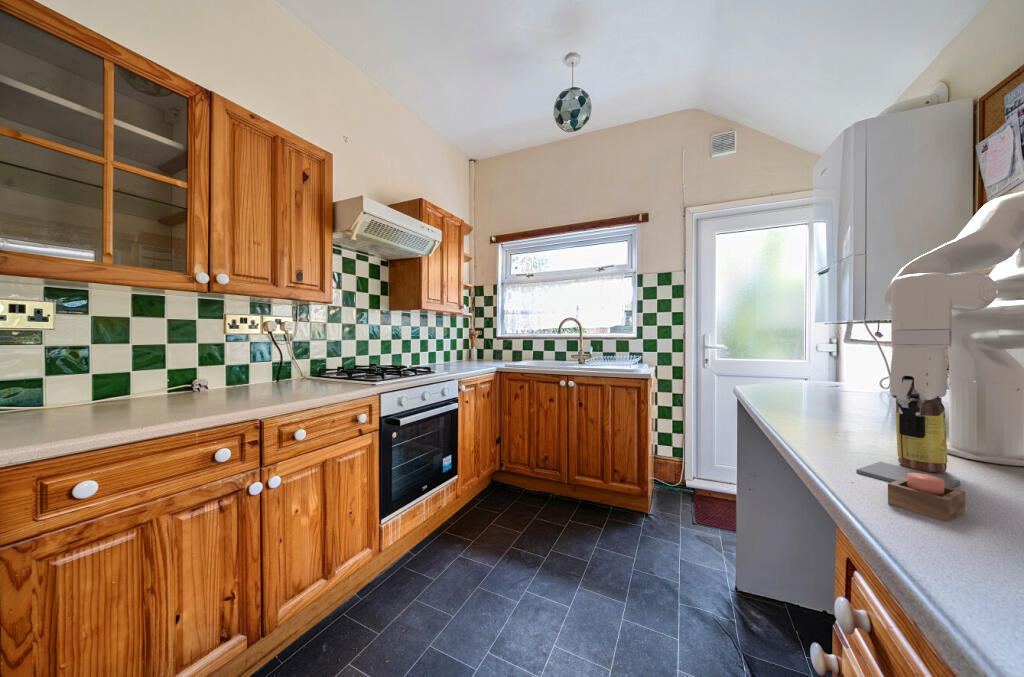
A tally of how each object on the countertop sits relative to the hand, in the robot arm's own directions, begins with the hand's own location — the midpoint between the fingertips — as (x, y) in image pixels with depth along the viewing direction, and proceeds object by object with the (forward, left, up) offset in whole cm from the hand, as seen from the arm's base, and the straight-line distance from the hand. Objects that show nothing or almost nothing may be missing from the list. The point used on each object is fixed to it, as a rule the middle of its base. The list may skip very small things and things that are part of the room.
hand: (920, 432), depth 68 cm
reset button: (+21, +7, -5) cm, 23 cm away
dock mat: (+9, +1, -7) cm, 11 cm away
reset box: (+21, +7, -7) cm, 23 cm away
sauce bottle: (0, 0, -7) cm, 7 cm away
